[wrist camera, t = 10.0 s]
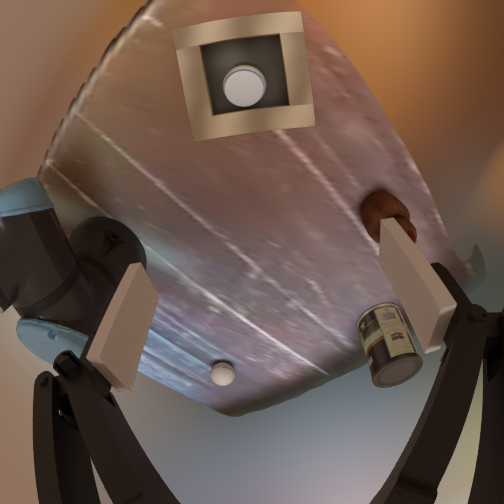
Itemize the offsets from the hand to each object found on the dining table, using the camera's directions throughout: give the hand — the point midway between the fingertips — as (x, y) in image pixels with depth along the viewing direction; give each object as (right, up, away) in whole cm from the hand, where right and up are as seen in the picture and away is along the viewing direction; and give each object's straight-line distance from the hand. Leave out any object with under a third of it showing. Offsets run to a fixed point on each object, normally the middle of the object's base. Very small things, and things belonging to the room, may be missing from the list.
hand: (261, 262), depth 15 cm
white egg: (-8, -25, +50) cm, 57 cm away
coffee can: (+27, -14, +42) cm, 52 cm away
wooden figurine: (+19, +8, +27) cm, 34 cm away
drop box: (-1, +23, +17) cm, 29 cm away
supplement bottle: (-1, +22, +17) cm, 28 cm away
